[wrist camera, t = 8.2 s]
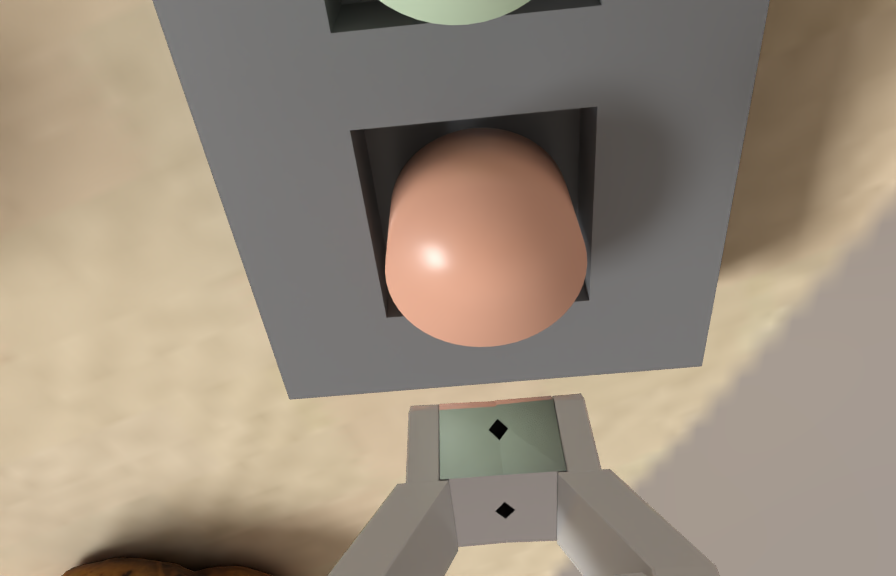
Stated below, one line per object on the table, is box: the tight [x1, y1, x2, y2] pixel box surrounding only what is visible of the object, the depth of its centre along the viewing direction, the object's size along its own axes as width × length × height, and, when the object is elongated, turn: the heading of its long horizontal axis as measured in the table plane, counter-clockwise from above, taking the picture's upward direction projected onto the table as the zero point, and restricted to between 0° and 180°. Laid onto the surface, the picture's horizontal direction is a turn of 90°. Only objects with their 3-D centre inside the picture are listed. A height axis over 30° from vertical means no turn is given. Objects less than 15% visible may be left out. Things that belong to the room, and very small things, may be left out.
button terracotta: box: [385, 128, 587, 347], centre depth 16 cm, size 4×4×3 cm
